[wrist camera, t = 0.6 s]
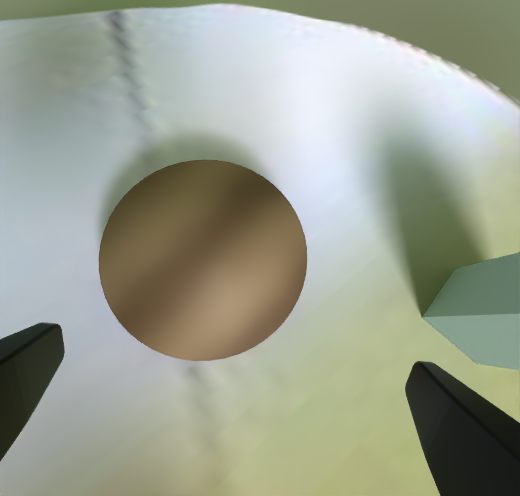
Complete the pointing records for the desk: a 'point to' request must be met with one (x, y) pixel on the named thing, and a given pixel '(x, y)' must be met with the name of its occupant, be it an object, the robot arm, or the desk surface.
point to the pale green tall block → (482, 311)
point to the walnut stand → (203, 260)
